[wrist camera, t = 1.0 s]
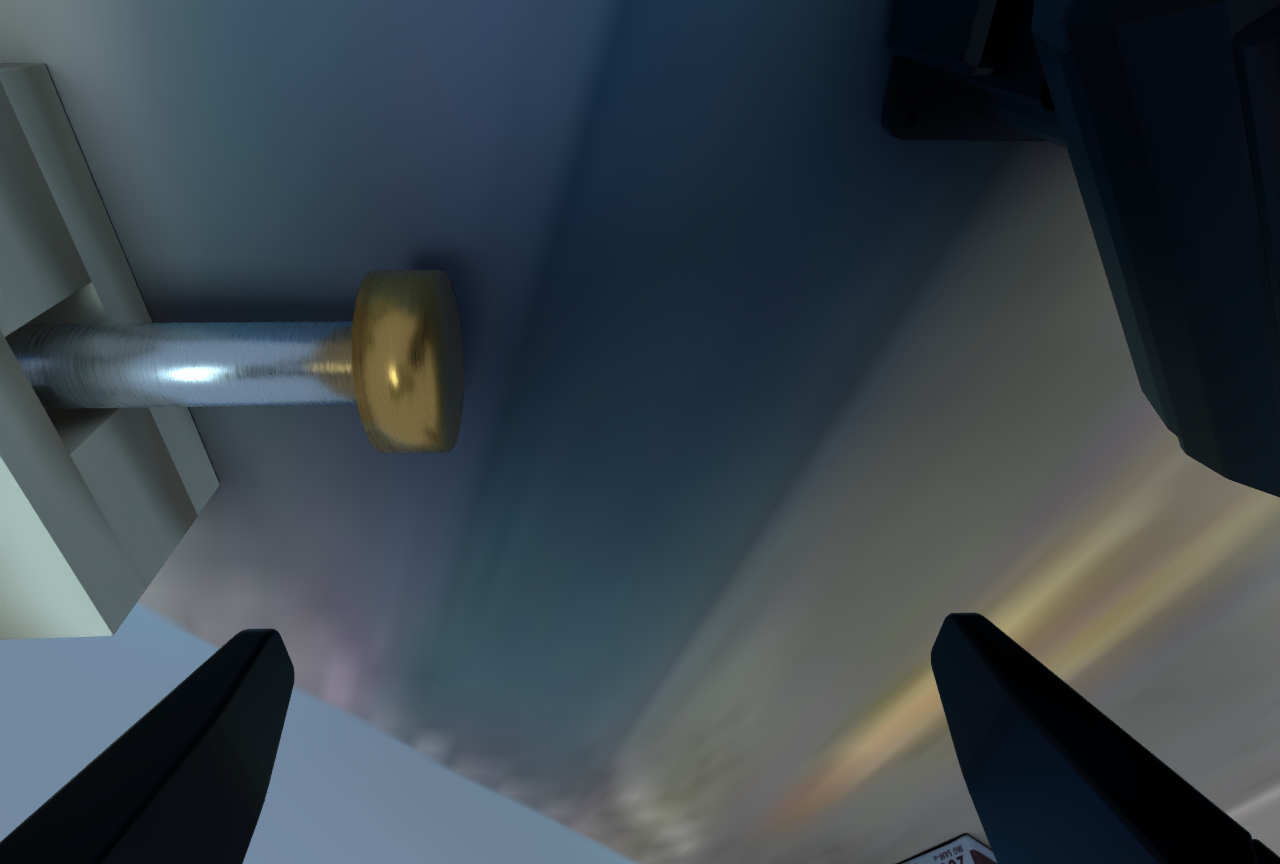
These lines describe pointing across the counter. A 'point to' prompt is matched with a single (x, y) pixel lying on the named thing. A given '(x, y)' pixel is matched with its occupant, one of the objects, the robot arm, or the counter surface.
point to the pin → (275, 362)
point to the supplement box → (957, 854)
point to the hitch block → (81, 437)
